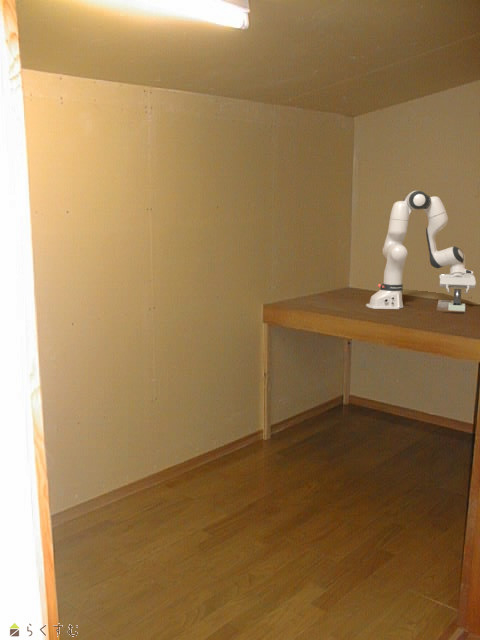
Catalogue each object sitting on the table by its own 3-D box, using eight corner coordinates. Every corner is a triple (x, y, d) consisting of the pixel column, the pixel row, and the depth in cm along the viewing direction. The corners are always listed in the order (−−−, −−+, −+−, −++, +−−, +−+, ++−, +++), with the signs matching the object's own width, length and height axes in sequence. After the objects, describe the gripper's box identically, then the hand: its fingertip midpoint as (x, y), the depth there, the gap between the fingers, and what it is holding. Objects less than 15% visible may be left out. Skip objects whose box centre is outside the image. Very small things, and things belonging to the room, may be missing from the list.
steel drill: (454, 310, 345) (456, 289, 342) (451, 308, 349) (452, 288, 346) (461, 309, 345) (462, 289, 343) (457, 308, 349) (459, 288, 347)
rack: (464, 311, 341) (465, 306, 341) (448, 310, 344) (448, 305, 344) (464, 308, 350) (464, 303, 349) (448, 307, 352) (448, 302, 352)
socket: (453, 307, 352) (454, 302, 352) (437, 306, 355) (438, 302, 355) (453, 305, 361) (454, 300, 360) (438, 304, 364) (438, 299, 363)
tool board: (465, 314, 340) (465, 311, 340) (436, 312, 345) (436, 309, 345) (464, 308, 360) (464, 305, 360) (437, 306, 366) (437, 304, 365)
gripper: (439, 270, 355) (439, 288, 348) (476, 271, 350) (476, 290, 342) (438, 276, 360) (438, 295, 353) (474, 278, 355) (474, 296, 347)
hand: (457, 292), depth 347 cm, fingers open, 8 cm apart
